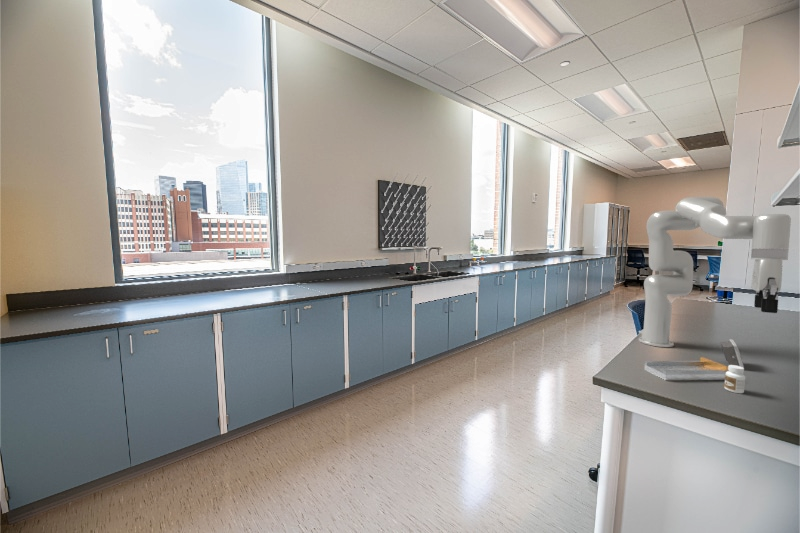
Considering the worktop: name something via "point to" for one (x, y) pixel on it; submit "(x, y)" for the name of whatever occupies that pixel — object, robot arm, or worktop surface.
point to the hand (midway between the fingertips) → (765, 310)
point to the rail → (687, 369)
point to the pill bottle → (735, 379)
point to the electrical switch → (732, 353)
